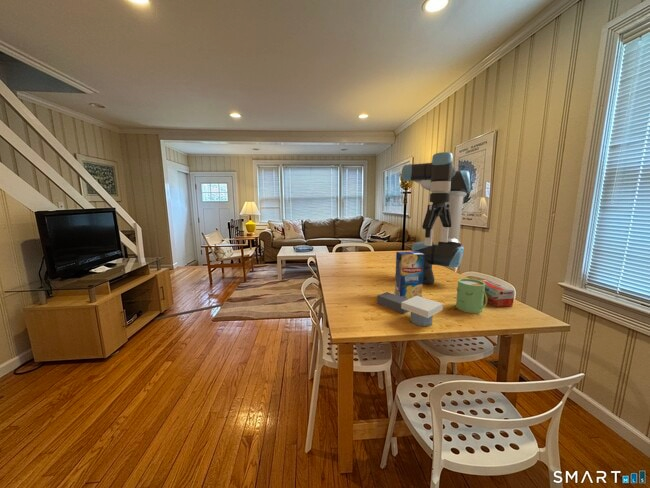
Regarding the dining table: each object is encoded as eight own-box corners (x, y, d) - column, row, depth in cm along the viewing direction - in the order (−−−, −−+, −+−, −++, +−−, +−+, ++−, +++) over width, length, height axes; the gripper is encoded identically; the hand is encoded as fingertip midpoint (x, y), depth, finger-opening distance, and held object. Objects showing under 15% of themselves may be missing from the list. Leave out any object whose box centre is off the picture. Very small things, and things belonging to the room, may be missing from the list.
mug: (450, 306, 113) (452, 280, 111) (466, 302, 117) (468, 277, 116) (476, 317, 102) (479, 289, 100) (493, 313, 106) (496, 285, 104)
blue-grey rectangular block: (386, 300, 120) (386, 292, 120) (413, 309, 110) (413, 300, 109) (377, 303, 116) (377, 295, 115) (403, 314, 105) (404, 304, 105)
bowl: (417, 314, 104) (417, 303, 104) (436, 321, 98) (436, 309, 98) (406, 320, 99) (406, 308, 99) (425, 328, 93) (426, 315, 92)
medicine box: (513, 306, 113) (515, 289, 112) (496, 307, 112) (498, 290, 110) (486, 294, 128) (488, 279, 126) (472, 295, 126) (473, 280, 125)
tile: (416, 301, 106) (416, 295, 105) (442, 309, 97) (443, 303, 97) (401, 308, 99) (401, 302, 98) (427, 318, 90) (428, 311, 90)
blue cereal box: (421, 298, 122) (424, 254, 118) (399, 299, 121) (401, 254, 117) (415, 293, 128) (417, 251, 125) (394, 294, 127) (396, 251, 124)
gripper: (445, 193, 114) (441, 239, 118) (414, 192, 99) (412, 245, 102) (462, 192, 109) (458, 241, 112) (433, 191, 93) (429, 248, 97)
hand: (436, 243), depth 107 cm, fingers open, 13 cm apart
